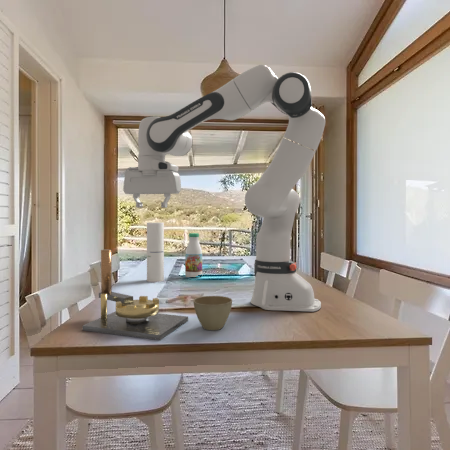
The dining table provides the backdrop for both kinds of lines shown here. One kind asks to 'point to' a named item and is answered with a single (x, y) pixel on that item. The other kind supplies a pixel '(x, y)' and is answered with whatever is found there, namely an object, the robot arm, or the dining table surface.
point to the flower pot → (212, 311)
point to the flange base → (135, 324)
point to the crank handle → (124, 302)
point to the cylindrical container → (155, 252)
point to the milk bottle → (193, 256)
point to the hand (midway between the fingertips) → (151, 207)
